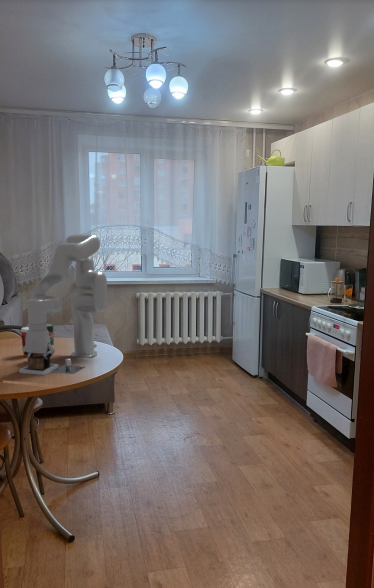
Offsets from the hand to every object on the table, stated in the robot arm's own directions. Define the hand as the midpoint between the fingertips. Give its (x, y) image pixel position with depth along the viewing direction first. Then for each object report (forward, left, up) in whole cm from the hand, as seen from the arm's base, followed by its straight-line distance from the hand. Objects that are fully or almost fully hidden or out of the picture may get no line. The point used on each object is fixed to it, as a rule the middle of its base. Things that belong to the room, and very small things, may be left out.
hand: (39, 366), depth 208 cm
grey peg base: (-4, +12, -3) cm, 13 cm away
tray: (0, 0, -3) cm, 3 cm away
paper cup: (-24, -21, -3) cm, 32 cm away
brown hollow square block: (0, 0, 0) cm, 0 cm away
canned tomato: (-47, -26, -3) cm, 54 cm away
